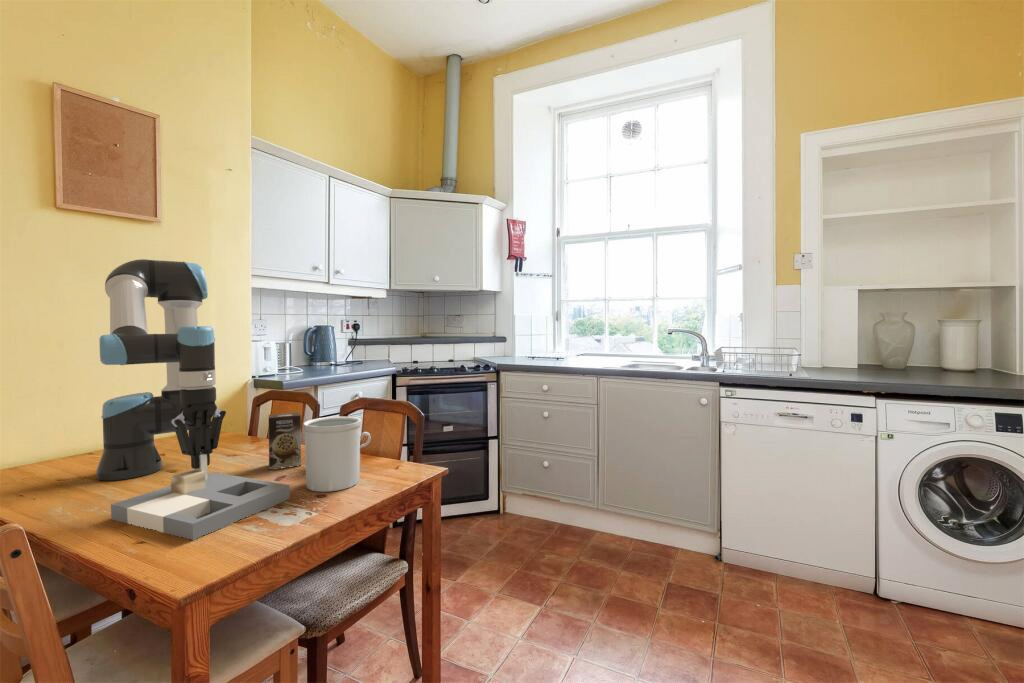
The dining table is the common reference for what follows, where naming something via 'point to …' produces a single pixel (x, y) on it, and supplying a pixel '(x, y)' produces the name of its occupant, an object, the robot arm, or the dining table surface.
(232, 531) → the dining table surface
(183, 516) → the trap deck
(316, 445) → the utensil holder
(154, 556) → the dining table surface
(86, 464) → the dining table surface
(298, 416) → the coffee box
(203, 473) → the birch block
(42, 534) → the dining table surface
